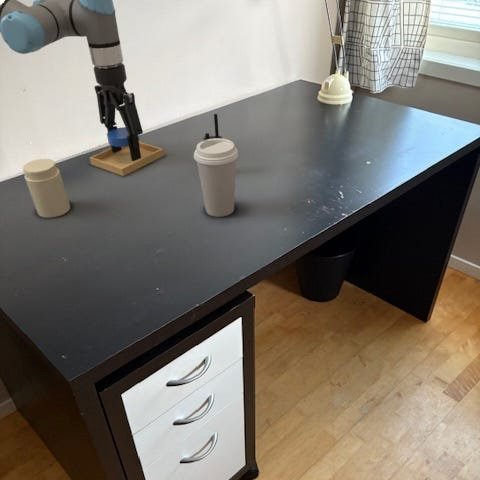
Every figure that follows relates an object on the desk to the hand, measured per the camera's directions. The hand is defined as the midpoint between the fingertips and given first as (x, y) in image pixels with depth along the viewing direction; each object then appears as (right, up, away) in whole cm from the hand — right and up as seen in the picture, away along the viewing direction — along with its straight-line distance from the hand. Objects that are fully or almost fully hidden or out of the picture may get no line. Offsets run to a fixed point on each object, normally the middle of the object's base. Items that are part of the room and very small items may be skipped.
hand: (126, 155), depth 131 cm
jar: (-13, -19, -18) cm, 30 cm away
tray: (0, -1, +1) cm, 1 cm away
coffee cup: (+27, -20, -21) cm, 40 cm away
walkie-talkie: (+25, -7, -7) cm, 27 cm away
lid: (0, +4, -4) cm, 6 cm away
